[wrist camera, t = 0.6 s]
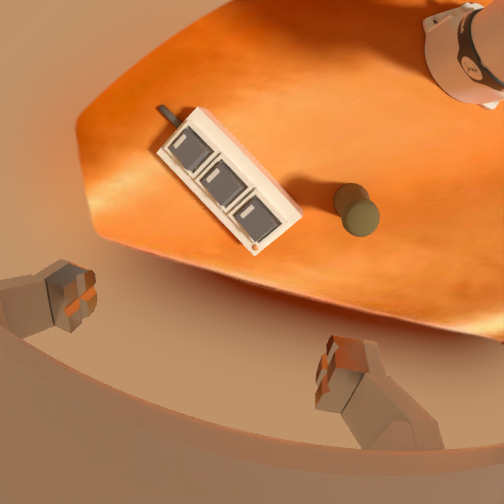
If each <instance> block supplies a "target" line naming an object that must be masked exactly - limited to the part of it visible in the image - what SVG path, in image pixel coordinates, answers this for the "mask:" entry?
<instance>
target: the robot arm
mask: <svg viewBox="0 0 504 504" xmlns="http://www.w3.org/2000/svg"><path fill="white" fill-rule="evenodd" d="M433 21H435V22H436V24H435V23H434V22H433ZM423 27H424V31H425V34H426V41H425V58H426V62H427V65H428V68H429V70H430V72H431V74H432V76H433V78H434V79H435V81H436V82H437V83H438V85H439V86H440V87H441V88H442V89H443V90H444V91H445V92H446V93H448V94H449V95H450V96H452V97H453V98H455V99H457V100H459V101H462V102H465V103H475V104H479V105H481V106H482V107H484V108H486V109H488V110H492V109H494V108H495V107H496V106H497V104H498V103H499V101H501V100H504V0H494V1H493V2H492V3H491V4H489V5H488V6H487V7H485V8H484V7H483V6H481V5H480V4H478V3H473V4H470V3H469V2H467V3H465V4H462V5H461V6H460V7H458V8H455V9H452V10H448V11H445V12H442V13H439V14H436V15H433V16H430V17H427V18H425V19H424V20H423ZM95 283H96V277H95V273H94V272H93V271H92V270H90V269H87V268H85V267H82V266H79V265H77V264H74V263H71V262H69V261H66V260H58V261H56V262H55V263H53V264H51V265H50V266H48V267H46V268H45V269H43V270H42V271H40V272H38V273H37V274H35V275H34V276H33V275H26V276H20V277H15V278H9V279H4V280H0V504H504V443H501V444H495V445H488V446H480V447H472V448H463V449H462V448H461V449H449V450H445V448H444V445H443V441H442V437H441V434H440V430H439V427H438V423H437V421H436V420H435V419H434V418H433V417H431V415H429V413H428V412H426V411H425V410H424V409H423V408H422V407H421V406H420V405H419V404H418V403H417V402H416V401H415V400H414V399H413V398H412V397H411V396H410V395H409V394H408V393H407V392H406V391H405V390H404V389H403V388H402V387H401V386H399V385H398V383H396V382H395V381H394V380H393V379H392V378H391V377H390V376H386V374H385V370H384V366H383V363H382V359H381V355H380V351H379V348H378V344H377V343H376V342H372V341H366V340H357V339H352V338H346V337H340V336H335V335H331V336H330V338H329V339H328V342H327V345H326V353H325V354H324V355H322V356H321V359H320V362H319V365H318V369H317V372H316V384H317V386H318V389H317V391H316V393H315V409H318V410H323V411H329V412H334V413H340V414H341V416H342V418H343V419H344V421H345V422H346V424H347V425H348V427H349V429H350V430H351V432H352V434H353V435H354V437H355V438H356V440H357V442H358V443H359V445H360V446H361V448H362V449H352V448H341V447H331V446H323V445H316V444H309V443H302V442H296V441H290V440H284V439H278V438H273V437H268V436H263V435H259V434H254V433H249V432H245V431H241V430H237V429H233V428H229V427H225V426H221V425H218V424H214V423H211V422H207V421H204V420H200V419H197V418H194V417H191V416H188V415H185V414H182V413H179V412H176V411H173V410H170V409H167V408H164V407H161V406H158V405H156V404H153V403H150V402H148V401H145V400H143V399H140V398H137V397H135V396H132V395H130V394H127V393H125V392H123V391H120V390H118V389H116V388H113V387H111V386H109V385H107V384H104V383H102V382H100V381H98V380H96V379H94V378H92V377H90V376H87V375H85V374H83V373H81V372H79V371H77V370H75V369H73V368H71V367H70V366H67V365H66V364H64V363H62V362H60V361H58V360H56V359H54V358H53V357H51V356H49V355H47V354H46V353H44V352H42V351H40V350H39V349H37V348H35V347H34V346H32V345H30V344H29V343H27V342H26V341H24V340H22V339H23V338H26V337H28V336H31V335H33V334H36V333H39V332H41V331H44V330H46V329H48V328H51V327H53V326H56V327H58V328H61V329H63V330H65V331H67V332H70V333H72V332H73V331H74V330H75V329H76V328H77V327H78V326H79V325H80V324H81V323H82V318H86V317H89V316H90V315H91V314H92V313H93V312H94V310H95V307H96V305H97V293H96V291H95V289H94V287H93V286H94V284H95Z"/></svg>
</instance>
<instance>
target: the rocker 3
mask: <svg viewBox="0 0 504 504" xmlns="http://www.w3.org/2000/svg"><path fill="white" fill-rule="evenodd" d="M235 217H236V219H237V220H238V221H239V223H240V224H241V225H242V226H243V228H244V229H245V230H246V232H247V233H248V234H249V235H250V237H251V238H252V239H253V241H254V242H257V241H259V240H260V239H261V238H262V237H264V236H265V235H266V234H267V233H268V232H270V231H271V230H272V229H273V228H274V227H275V226H277V225H278V223H277V222H276V220H275V219H274V218H273V217H272V215H271V214H270V213H269V212H268V210H267V209H266V208H265V207H264V205H263V204H262V203H261V202H260V201H259V199H254V200H252V201H251V202H250V203H249V204H248V205H247V206H246V207H245V208H244V209H243V210H241V211H240V212H239V213H238V214H237V215H236V216H235Z"/></svg>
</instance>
